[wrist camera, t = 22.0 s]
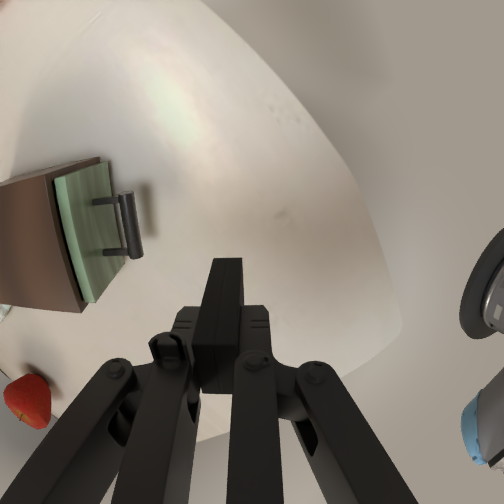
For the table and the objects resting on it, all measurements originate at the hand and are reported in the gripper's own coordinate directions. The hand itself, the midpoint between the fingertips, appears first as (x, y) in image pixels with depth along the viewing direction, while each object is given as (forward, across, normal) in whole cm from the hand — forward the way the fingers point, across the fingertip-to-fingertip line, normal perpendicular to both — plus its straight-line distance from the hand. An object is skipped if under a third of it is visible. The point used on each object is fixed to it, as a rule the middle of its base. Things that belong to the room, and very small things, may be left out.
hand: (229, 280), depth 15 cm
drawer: (+13, -18, 0) cm, 22 cm away
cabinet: (+14, -22, 0) cm, 26 cm away
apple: (+14, -44, -33) cm, 56 cm away
